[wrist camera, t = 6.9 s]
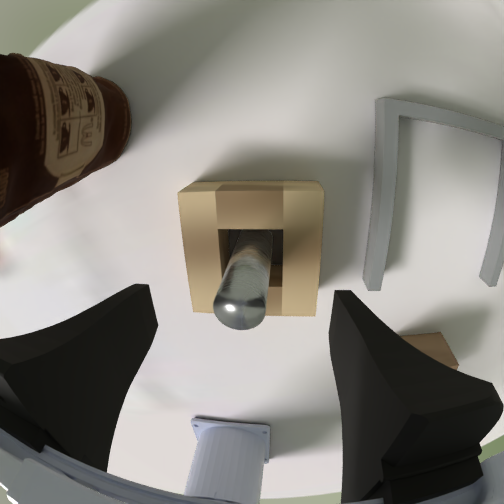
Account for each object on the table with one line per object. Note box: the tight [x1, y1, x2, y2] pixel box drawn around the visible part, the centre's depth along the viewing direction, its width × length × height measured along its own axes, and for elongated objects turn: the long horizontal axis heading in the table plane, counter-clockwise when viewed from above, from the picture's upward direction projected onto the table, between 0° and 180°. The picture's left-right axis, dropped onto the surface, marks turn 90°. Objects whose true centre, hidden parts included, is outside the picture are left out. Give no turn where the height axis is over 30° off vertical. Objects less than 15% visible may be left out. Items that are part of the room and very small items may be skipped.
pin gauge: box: [213, 229, 273, 330], centre depth 14 cm, size 2×2×7 cm
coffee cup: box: [0, 53, 131, 227], centre depth 9 cm, size 9×8×13 cm
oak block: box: [178, 181, 324, 316], centre depth 16 cm, size 7×7×3 cm
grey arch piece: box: [363, 98, 504, 291], centre depth 14 cm, size 11×11×2 cm
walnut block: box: [400, 332, 459, 370], centre depth 18 cm, size 5×5×4 cm
